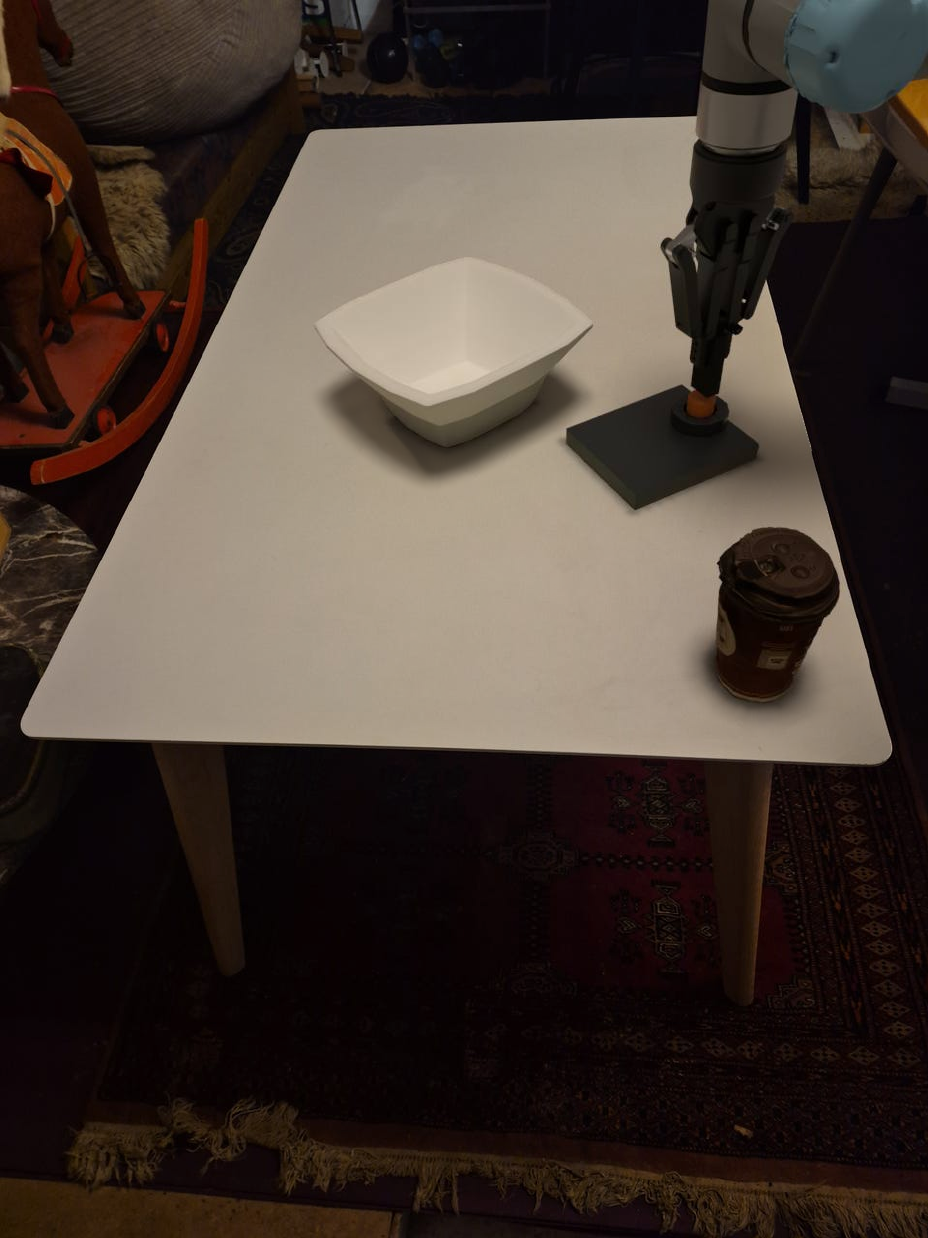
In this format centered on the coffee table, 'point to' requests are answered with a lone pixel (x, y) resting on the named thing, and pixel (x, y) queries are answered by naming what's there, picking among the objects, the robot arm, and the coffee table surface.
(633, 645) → the coffee table surface
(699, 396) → the button
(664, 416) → the scale
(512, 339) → the bowl
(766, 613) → the coffee cup
